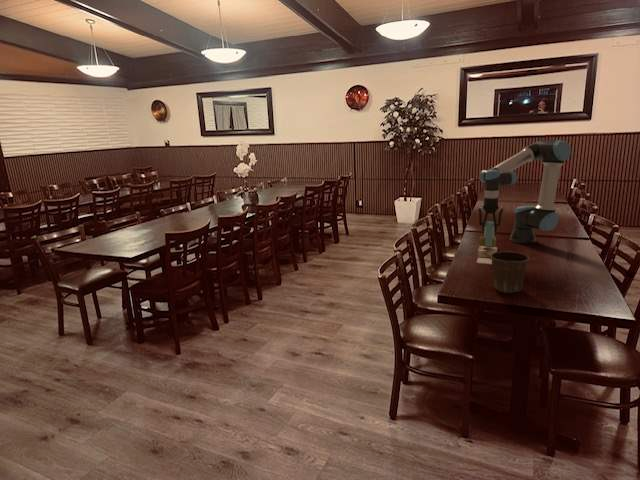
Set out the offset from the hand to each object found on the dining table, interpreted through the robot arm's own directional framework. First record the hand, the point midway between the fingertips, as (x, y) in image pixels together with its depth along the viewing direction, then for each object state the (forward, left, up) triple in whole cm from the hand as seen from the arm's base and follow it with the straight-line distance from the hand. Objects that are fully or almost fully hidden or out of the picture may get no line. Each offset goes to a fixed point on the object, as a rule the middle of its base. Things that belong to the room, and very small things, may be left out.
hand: (488, 236), depth 245 cm
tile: (0, +13, -11) cm, 17 cm away
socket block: (0, 0, -11) cm, 11 cm away
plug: (0, 0, -5) cm, 5 cm away
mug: (0, -13, -12) cm, 17 cm away
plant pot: (-12, +52, -12) cm, 55 cm away
